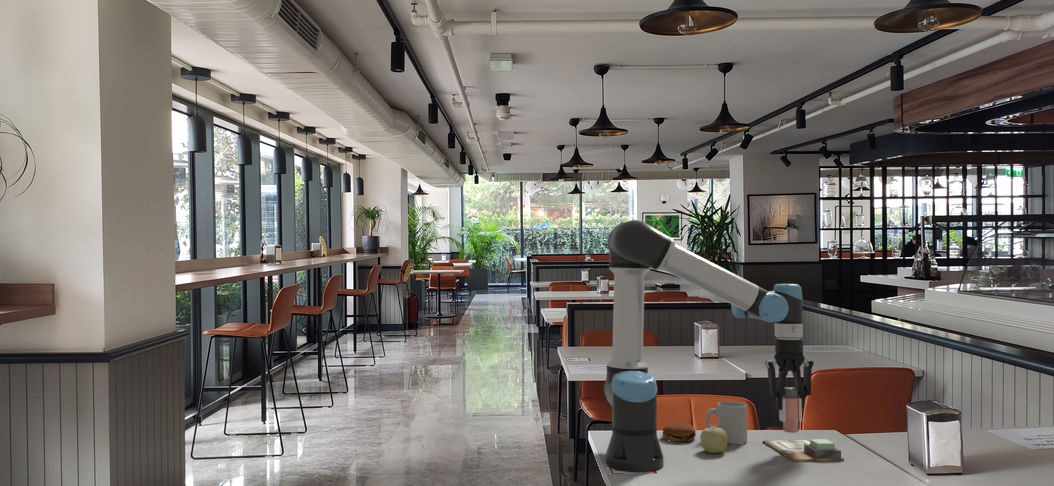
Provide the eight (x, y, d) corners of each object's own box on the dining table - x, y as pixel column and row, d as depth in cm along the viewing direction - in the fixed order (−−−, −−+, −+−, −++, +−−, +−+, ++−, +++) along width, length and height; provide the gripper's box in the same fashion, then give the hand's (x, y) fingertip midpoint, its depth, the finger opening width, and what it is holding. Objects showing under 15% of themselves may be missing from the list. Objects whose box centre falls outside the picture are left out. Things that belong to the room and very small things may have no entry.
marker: (787, 433, 197) (786, 390, 198) (780, 429, 202) (779, 387, 202) (801, 432, 198) (800, 389, 198) (794, 429, 202) (793, 386, 202)
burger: (656, 439, 212) (656, 423, 212) (672, 434, 219) (673, 419, 219) (685, 445, 206) (685, 429, 206) (701, 439, 212) (701, 424, 213)
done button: (818, 450, 191) (818, 443, 191) (810, 445, 195) (810, 439, 195) (834, 450, 191) (834, 443, 191) (826, 445, 196) (826, 439, 196)
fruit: (731, 455, 194) (730, 426, 194) (704, 455, 194) (704, 426, 194) (723, 448, 202) (723, 420, 202) (697, 448, 202) (697, 420, 202)
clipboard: (793, 461, 188) (793, 451, 188) (762, 442, 208) (762, 433, 208) (844, 460, 189) (843, 450, 190) (808, 441, 209) (808, 432, 209)
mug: (744, 437, 214) (744, 401, 214) (749, 445, 205) (749, 407, 206) (704, 436, 216) (704, 400, 216) (707, 443, 207) (707, 406, 207)
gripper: (765, 340, 196) (767, 424, 195) (824, 339, 197) (826, 423, 197) (754, 337, 204) (756, 418, 203) (811, 336, 205) (813, 417, 204)
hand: (790, 420), depth 200 cm, fingers closed on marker, 4 cm apart
